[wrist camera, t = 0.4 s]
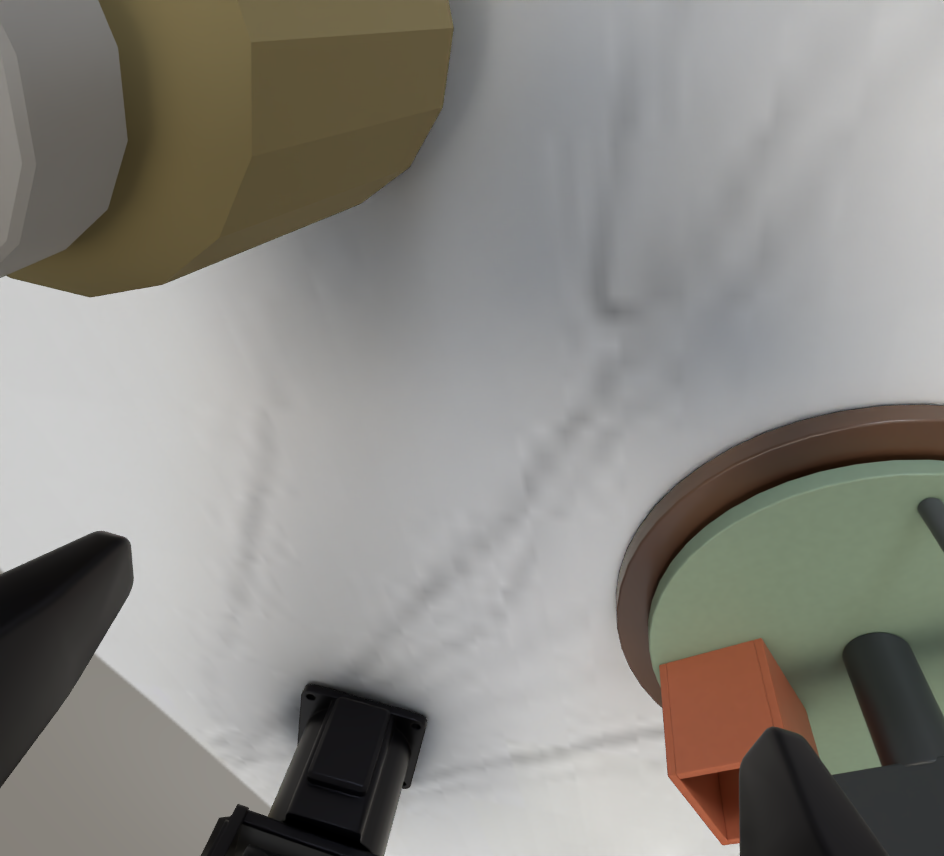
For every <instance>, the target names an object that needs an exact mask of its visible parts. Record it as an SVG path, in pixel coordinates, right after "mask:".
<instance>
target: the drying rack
mask: <svg viewBox="0 0 944 856" xmlns="http://www.w3.org/2000/svg"><path fill="white" fill-rule="evenodd" d="M648 639H649V652H650V657H651V662H652V667H653V670H654V673H655V675H656V678H657V680H658V683H659V685H660V687H661V696H662V708H663V721H664V733H665V746H666V759H667V771H668V777H669V778H670V779H671V781H672V782H673V783H674V784H675V786H676V787H677V788H678V790H679V791H680V792H681V793H682V795H683V796H684V797H685V798H686V800H687V801H688V802H689V803H690V805H691V806H692V807H693V809H694V810H695V811H696V812H697V814H698V815H699V816H700V817H701V819H702V820H703V821H704V823H705V824H706V825H707V826H708V828H709V829H710V830H711V831H712V833H713V834H714V835H715V836H716V838H717V839H718V840H719V842H720V843H721V844H722V845H729V844H736V843H740V830H739V769H740V765H741V762H742V759H743V757H744V756H745V754H746V753H747V752H748V751H749V750H750V748H751V747H752V746H753V745H754V743H755V742H756V741H757V740H758V738H759V737H760V736H761V735H762V733H763V732H764V731H765V730H766V729H767V728H769V727H772V726H774V727H779V728H782V729H786V730H789V731H792V732H796V733H798V734H800V735H802V736H803V737H804V738H805V739H806V740H807V741H808V743H809V744H810V745H811V747H812V748H813V750H814V751H815V752H816V754H817V755H818V757H819V758H820V759H821V761H822V762H823V764H824V765H825V766H826V768H827V769H828V771H829V772H830V773H831V775H832V776H833V778H834V779H835V780H836V782H837V783H838V785H839V786H840V787H841V789H842V790H843V792H844V793H845V794H846V796H847V797H848V799H849V800H850V801H851V803H852V804H853V806H854V807H855V808H856V810H857V811H858V813H859V814H860V815H861V817H862V818H863V819H864V821H865V822H866V824H867V825H868V826H869V828H870V829H871V831H872V832H873V833H874V835H875V836H876V838H877V839H878V840H879V842H880V843H881V845H882V846H883V847H884V849H885V850H886V852H887V853H888V854H889V856H944V461H940V460H891V461H881V462H872V463H863V464H855V465H850V466H845V467H840V468H835V469H831V470H826V471H821V472H818V473H814V474H811V475H808V476H804V477H801V478H798V479H795V480H791V481H788V482H786V483H783V484H781V485H778V486H776V487H774V488H771V489H769V490H766V491H764V492H762V493H759V494H757V495H755V496H753V497H751V498H750V499H748V500H746V501H744V502H742V503H740V504H738V505H737V506H735V507H733V508H731V509H729V510H728V511H727V512H725V513H724V514H722V515H721V516H719V517H718V518H717V519H715V520H714V521H712V522H711V523H709V524H708V525H707V526H706V527H704V528H703V529H702V530H701V531H700V532H699V533H698V534H697V535H696V536H694V537H693V538H692V539H691V540H690V541H689V542H688V543H687V544H686V545H685V546H684V547H683V549H682V550H681V551H680V552H679V553H678V555H677V556H676V557H675V558H674V559H673V560H672V562H671V563H670V565H669V567H668V568H667V570H666V572H665V573H664V575H663V576H662V578H661V580H660V582H659V584H658V587H657V589H656V592H655V594H654V597H653V599H652V603H651V608H650V613H649V619H648Z"/></svg>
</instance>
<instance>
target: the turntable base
mask: <svg viewBox="0 0 944 856" xmlns="http://www.w3.org/2000/svg"><path fill="white" fill-rule="evenodd" d="M891 460H940V461H944V406H937V405H892V406H877V407H870V408H862V409H854V410H846V411H840V412H836V413H831V414H827V415H823V416H818V417H814V418H810V419H805V420H801V421H798V422H795V423H792V424H789V425H786V426H784V427H781V428H778V429H775V430H772V431H769V432H766V433H763V434H761V435H759V436H757V437H755V438H752V439H750V440H748V441H746V442H744V443H741V444H739V445H737V446H735V447H733V448H731V449H729V450H727V451H726V452H724V453H722V454H721V455H719V456H717V457H716V458H714V459H712V460H711V461H709V462H707V463H706V464H704V465H702V466H701V467H700V468H698V469H697V470H696V471H694V472H693V473H692V474H690V475H689V476H688V477H686V478H685V479H684V480H682V481H681V482H680V483H679V484H677V485H676V486H675V487H674V488H673V489H672V490H671V491H670V492H669V493H668V494H667V495H666V496H665V497H664V498H663V499H662V500H661V501H660V502H659V503H658V504H657V505H656V506H655V507H654V509H653V510H652V511H651V512H650V514H649V515H648V516H647V518H646V519H645V520H644V522H643V523H642V524H641V526H640V527H639V528H638V530H637V532H636V534H635V536H634V538H633V539H632V541H631V543H630V545H629V547H628V549H627V551H626V554H625V557H624V560H623V563H622V565H621V568H620V572H619V578H618V584H617V591H616V607H617V630H618V634H619V639H620V643H621V648H622V650H623V653H624V655H625V657H626V660H627V662H628V665H629V667H630V669H631V670H632V672H633V673H634V675H635V677H636V678H637V680H638V681H639V683H640V684H641V686H642V687H643V688H644V689H645V690H646V692H647V693H648V694H649V695H650V696H651V697H652V699H653V700H654V701H655V702H656V703H657V704H658V705H660V706H661V707H662V696H661V687H660V685H659V683H658V680H657V678H656V675H655V673H654V670H653V667H652V662H651V657H650V652H649V639H648V619H649V613H650V608H651V603H652V599H653V597H654V594H655V592H656V589H657V587H658V584H659V582H660V580H661V578H662V576H663V575H664V573H665V572H666V570H667V568H668V567H669V565H670V563H671V562H672V560H673V559H674V558H675V557H676V556H677V555H678V553H679V552H680V551H681V550H682V549H683V547H684V546H685V545H686V544H687V543H688V542H689V541H690V540H691V539H692V538H693V537H694V536H696V535H697V534H698V533H699V532H700V531H701V530H702V529H703V528H704V527H706V526H707V525H708V524H709V523H711V522H712V521H714V520H715V519H717V518H718V517H719V516H721V515H722V514H724V513H725V512H727V511H728V510H729V509H731V508H733V507H735V506H737V505H738V504H740V503H742V502H744V501H746V500H748V499H750V498H751V497H753V496H755V495H757V494H759V493H762V492H764V491H766V490H769V489H771V488H774V487H776V486H778V485H781V484H783V483H786V482H788V481H791V480H795V479H798V478H801V477H804V476H808V475H811V474H814V473H818V472H821V471H826V470H831V469H835V468H840V467H845V466H850V465H855V464H863V463H872V462H881V461H891Z"/></svg>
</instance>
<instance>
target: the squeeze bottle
mask: <svg viewBox="0 0 944 856" xmlns="http://www.w3.org/2000/svg"><path fill="white" fill-rule="evenodd" d="M453 30H454V26H453V21H452V16H451V11H450V6H449V1H448V0H0V278H1V277H4V276H6V275H7V276H8V277H10V278H13V279H17V280H21V281H25V282H29V283H33V284H38V285H42V286H46V287H50V288H54V289H58V290H62V291H66V292H70V293H74V294H79V295H83V296H87V297H95V296H101V295H107V294H112V293H118V292H124V291H129V290H135V289H141V288H147V287H152V286H158V285H163V284H165V283H168V282H170V281H173V280H175V279H177V278H180V277H182V276H185V275H187V274H190V273H192V272H195V271H197V270H199V269H202V268H204V267H207V266H209V265H212V264H214V263H217V262H219V261H222V260H224V259H226V258H229V257H231V256H234V255H236V254H239V253H241V252H244V251H246V250H249V249H251V248H253V247H256V246H258V245H261V244H263V243H266V242H268V241H271V240H273V239H275V238H278V237H280V236H283V235H285V234H288V233H290V232H293V231H295V230H298V229H300V228H302V227H305V226H307V225H310V224H312V223H315V222H317V221H320V220H322V219H325V218H327V217H329V216H332V215H334V214H337V213H339V212H342V211H344V210H347V209H349V208H351V207H354V206H356V205H359V204H361V203H363V202H364V201H365V200H367V199H368V198H369V197H371V196H372V195H373V194H375V193H376V192H377V191H379V190H380V189H381V188H383V187H384V186H385V185H387V184H388V183H389V182H391V181H392V180H393V179H395V178H396V177H397V176H399V175H400V174H401V173H403V172H404V171H405V170H407V169H408V168H409V167H410V166H411V164H412V162H413V160H414V158H415V157H416V155H417V153H418V151H419V149H420V148H421V146H422V144H423V142H424V140H425V138H426V137H427V135H428V133H429V131H430V129H431V128H432V126H433V124H434V122H435V120H436V119H437V117H438V115H439V113H440V111H441V110H442V108H443V102H444V95H445V88H446V81H447V73H448V66H449V59H450V52H451V45H452V37H453Z"/></svg>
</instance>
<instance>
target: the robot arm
mask: <svg viewBox="0 0 944 856" xmlns="http://www.w3.org/2000/svg"><path fill="white" fill-rule="evenodd" d="M133 579H134V576H133V565H132V553H131V544H130V542H129V540H128V539H127V538H125V537H123V536H119V535H116V534H112V533H109V532H105V531H97V532H93V533H90V534H88V535H86V536H84V537H82V538H79V539H77V540H75V541H73V542H71V543H68V544H66V545H64V546H62V547H60V548H57V549H55V550H53V551H51V552H49V553H47V554H44V555H42V556H40V557H38V558H36V559H33V560H31V561H29V562H27V563H25V564H22V565H20V566H18V567H16V568H14V569H11V570H9V571H7V572H5V573H3V574H0V788H1V786H2V785H3V784H4V782H5V781H6V779H7V778H8V777H9V775H10V774H11V773H12V771H13V770H14V769H15V767H16V766H17V765H18V763H19V762H20V761H21V759H22V758H23V756H24V755H25V754H26V753H27V751H28V750H29V749H30V747H31V746H32V745H33V743H34V742H35V741H36V739H37V738H38V736H39V735H40V734H41V732H42V731H43V730H44V728H45V727H46V726H47V724H48V723H49V722H50V720H51V719H52V718H53V716H54V715H55V714H56V712H57V711H58V710H59V708H60V707H61V705H62V704H63V702H64V701H65V699H66V698H67V697H68V695H69V694H70V692H71V691H72V689H73V688H74V686H75V684H76V683H77V681H78V680H79V678H80V676H81V675H82V673H83V671H84V670H85V668H86V666H87V665H88V663H89V661H90V660H91V658H92V656H93V655H94V653H95V651H96V649H97V648H98V646H99V644H100V643H101V641H102V639H103V638H104V636H105V634H106V633H107V631H108V629H109V628H110V626H111V624H112V623H113V621H114V619H115V618H116V616H117V614H118V613H119V611H120V609H121V608H122V606H123V604H124V603H125V601H126V599H127V598H128V596H129V594H130V591H131V589H132V586H133ZM426 725H427V719H426V717H424V716H423V715H421V714H418V713H414V712H411V711H407V710H404V709H400V708H397V707H393V706H389V705H386V704H382V703H379V702H375V701H371V700H368V699H364V698H361V697H357V696H353V695H350V694H346V693H343V692H339V691H335V690H332V689H328V688H325V687H321V686H317V685H313V684H308V685H306V686H305V688H304V690H303V692H302V695H301V707H300V720H299V733H298V745H297V749H296V751H295V753H294V756H293V758H292V760H291V763H290V765H289V768H288V770H287V772H286V775H285V777H284V779H283V782H282V784H281V787H280V789H279V791H278V794H277V796H276V798H275V801H274V803H273V805H272V808H271V810H270V813H269V815H268V817H267V816H264V815H261V814H259V813H256V812H253V811H250V810H249V808H248V807H245V806H243V805H240V804H238V805H237V806H236V808H235V810H234V812H233V814H232V815H231V816H230V817H222V818H219V819H218V822H217V824H216V826H215V828H214V830H213V832H212V834H211V836H210V838H209V840H208V842H207V844H206V846H205V848H204V850H203V853H202V854H201V856H384V854H385V850H386V846H387V843H388V839H389V835H390V831H391V828H392V824H393V820H394V816H395V812H396V809H397V805H398V801H399V797H400V794H401V790H402V788H403V789H407V788H409V787H410V786H411V782H412V778H413V774H414V771H415V767H416V763H417V759H418V755H419V752H420V748H421V744H422V740H423V737H424V733H425V729H426ZM739 830H740V856H889V854H888V853H887V852H886V850H885V849H884V847H883V846H882V845H881V843H880V842H879V840H878V839H877V838H876V836H875V835H874V833H873V832H872V831H871V829H870V828H869V826H868V825H867V824H866V822H865V821H864V819H863V818H862V817H861V815H860V814H859V813H858V811H857V810H856V808H855V807H854V806H853V804H852V803H851V801H850V800H849V799H848V797H847V796H846V794H845V793H844V792H843V790H842V789H841V787H840V786H839V785H838V783H837V782H836V780H835V779H834V778H833V776H832V775H831V773H830V772H829V771H828V769H827V768H826V766H825V765H824V764H823V762H822V761H821V759H820V758H819V757H818V755H817V754H816V752H815V751H814V750H813V748H812V747H811V745H810V744H809V743H808V741H807V740H806V739H805V738H804V737H803V736H802V735H800V734H798V733H796V732H792V731H789V730H786V729H782V728H779V727H774V726H772V727H769V728H767V729H766V730H765V731H764V732H763V733H762V735H761V736H760V737H759V738H758V740H757V741H756V742H755V743H754V745H753V746H752V747H751V748H750V750H749V751H748V752H747V753H746V754H745V756H744V757H743V759H742V762H741V765H740V769H739Z"/></svg>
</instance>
